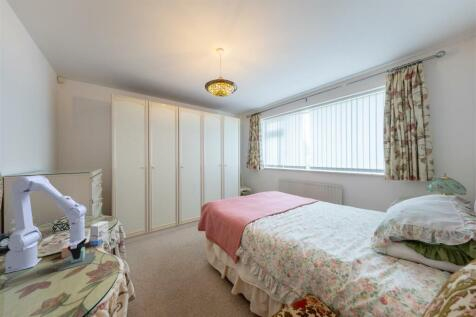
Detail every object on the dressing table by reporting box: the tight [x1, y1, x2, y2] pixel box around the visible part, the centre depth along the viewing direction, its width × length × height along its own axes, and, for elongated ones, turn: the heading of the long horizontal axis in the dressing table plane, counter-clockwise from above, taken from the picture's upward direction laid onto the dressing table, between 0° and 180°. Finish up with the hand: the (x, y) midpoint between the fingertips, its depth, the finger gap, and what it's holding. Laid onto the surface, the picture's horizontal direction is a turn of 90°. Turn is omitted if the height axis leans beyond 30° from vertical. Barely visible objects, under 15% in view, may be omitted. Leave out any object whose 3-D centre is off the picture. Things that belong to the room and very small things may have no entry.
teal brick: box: [70, 246, 86, 263], centre depth 90 cm, size 4×4×5 cm
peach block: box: [61, 243, 71, 259], centre depth 96 cm, size 4×4×5 cm
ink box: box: [89, 220, 109, 246], centre depth 110 cm, size 9×5×12 cm, turn 179°
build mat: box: [57, 251, 96, 272], centre depth 90 cm, size 12×12×1 cm
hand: (78, 256), depth 90 cm, fingers closed on teal brick, 4 cm apart
